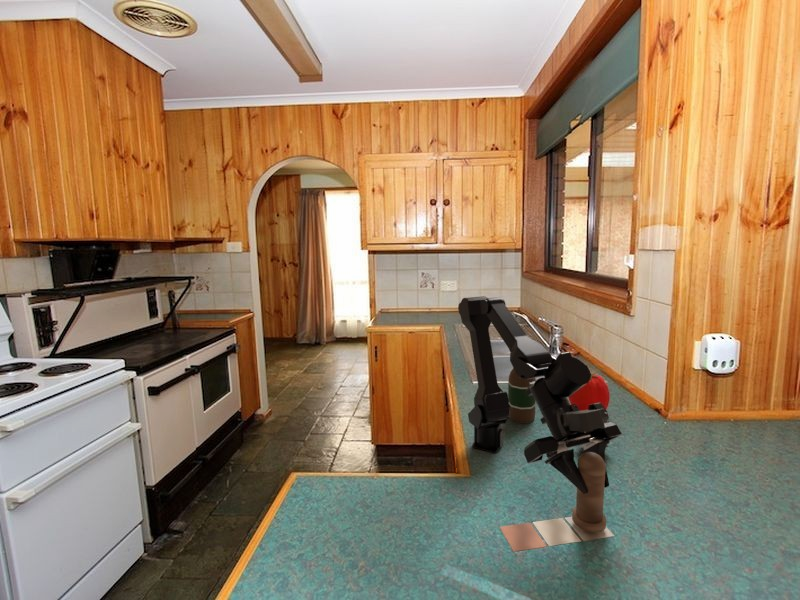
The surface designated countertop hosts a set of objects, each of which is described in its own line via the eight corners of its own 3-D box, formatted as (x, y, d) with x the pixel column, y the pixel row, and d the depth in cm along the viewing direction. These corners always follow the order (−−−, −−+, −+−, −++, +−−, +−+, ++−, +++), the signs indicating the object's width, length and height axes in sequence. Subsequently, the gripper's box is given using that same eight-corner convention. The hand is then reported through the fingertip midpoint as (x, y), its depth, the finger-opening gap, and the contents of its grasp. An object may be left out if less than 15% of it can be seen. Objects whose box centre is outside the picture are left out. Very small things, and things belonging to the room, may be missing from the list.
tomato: (610, 411, 123) (612, 369, 121) (606, 427, 113) (608, 382, 111) (570, 403, 129) (571, 364, 127) (562, 418, 119) (564, 375, 117)
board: (512, 567, 66) (513, 561, 66) (490, 525, 76) (490, 520, 76) (627, 549, 69) (628, 543, 69) (591, 511, 79) (591, 505, 79)
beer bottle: (535, 414, 122) (536, 337, 119) (534, 425, 115) (536, 344, 112) (508, 411, 125) (509, 336, 121) (506, 422, 118) (507, 342, 114)
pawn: (570, 525, 72) (573, 457, 70) (574, 507, 77) (576, 442, 75) (605, 536, 69) (609, 465, 67) (606, 516, 74) (610, 450, 72)
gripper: (535, 397, 70) (581, 491, 61) (616, 382, 76) (668, 465, 68) (508, 421, 79) (544, 507, 70) (583, 405, 85) (625, 482, 76)
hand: (596, 490), depth 71 cm, fingers closed on pawn, 4 cm apart
